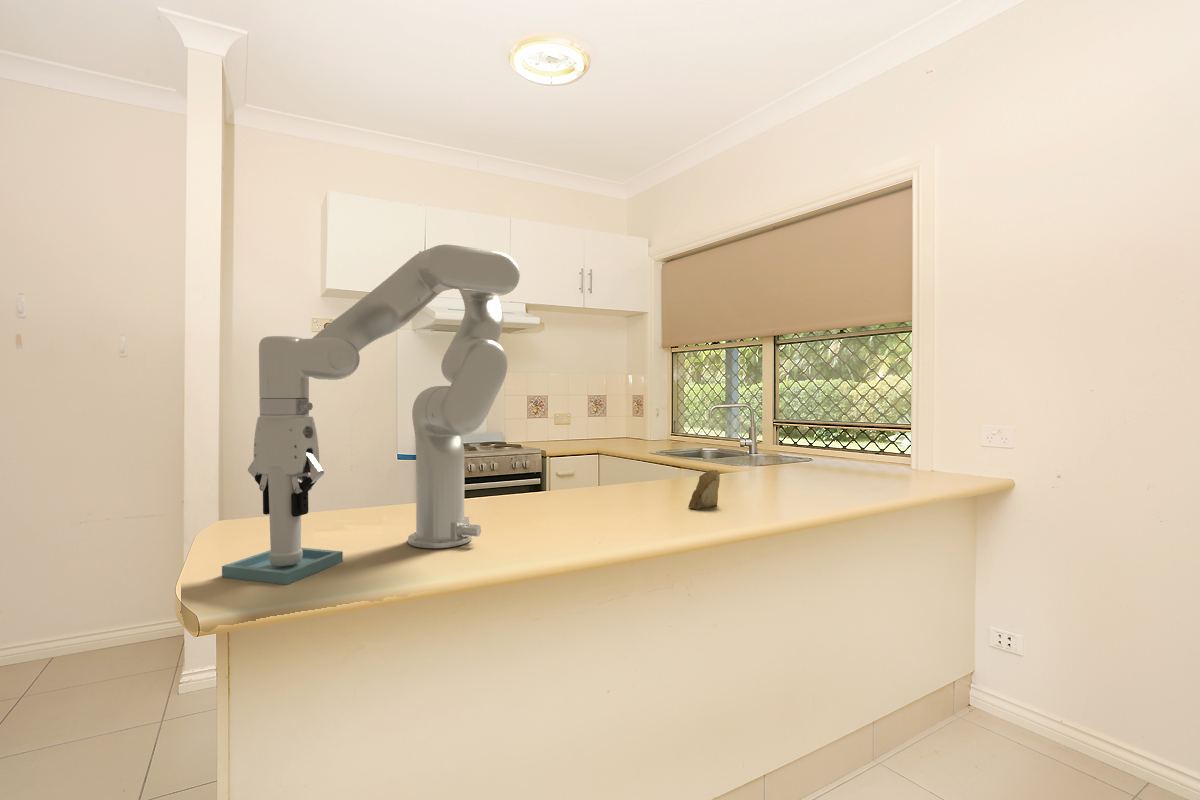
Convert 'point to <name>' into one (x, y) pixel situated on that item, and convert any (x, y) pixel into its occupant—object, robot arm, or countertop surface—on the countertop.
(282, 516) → the bottle
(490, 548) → the countertop surface
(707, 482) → the rock
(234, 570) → the tray
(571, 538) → the countertop surface
